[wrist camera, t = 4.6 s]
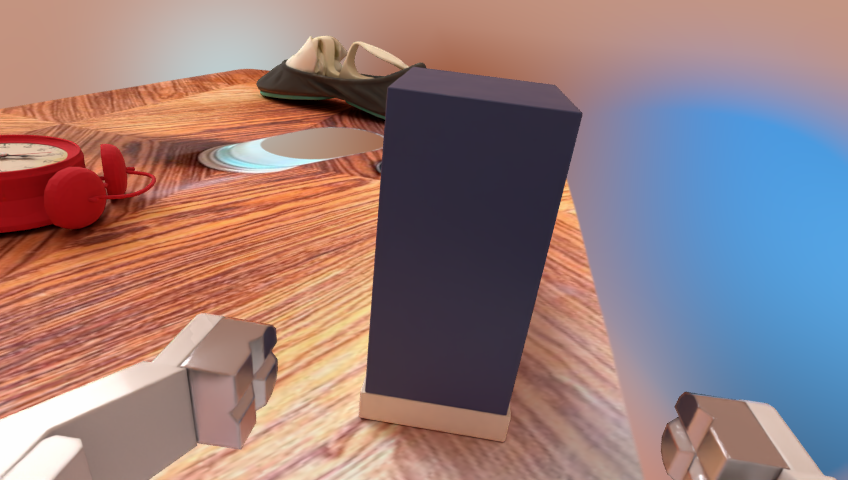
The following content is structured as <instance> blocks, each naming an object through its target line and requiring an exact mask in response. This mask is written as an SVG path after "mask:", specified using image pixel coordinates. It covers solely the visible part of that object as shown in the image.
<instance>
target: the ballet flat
mask: <svg viewBox="0 0 848 480" xmlns="http://www.w3.org/2000/svg"><path fill="white" fill-rule="evenodd" d="M359 45H360V46H362V47H363V48H364V49H365V50H367V51H368V52H370V53H371V54H373V55H375V56H376V57H378V58H380V59H382V60H384V61H386V62H389V63H391V64H393V65H395V66H396V67H398V68H400V69H402V70H401V71H399V72H395V73H393V74H391V75H387V76H372V75H365V74H359V73H358V71H357V69H356V67H355V62H354V59H355V54H356V51H357V49H358V46H359ZM345 56H346V59H345V61H344V64H343V66H342V64H341V63H340V61H341V60H342V59H343V58H344V57H345ZM412 67H419V68H426V66H425V64H423V63H417V64H415V65H412V66H410V67H409V66H407V65H406V64H404V63H403V62H402V61H401V60H400V59H398V58H397V57H395V56H393V55H392V54H389V53H388V52H386V51H384V50H382V49H380V48H377V47H375V46H372V45H369V44H366V43H364V42H354V43H353V44H352V45H351V47H350V49H349V51H348V52H347V50H346V49H345V48H344V47H343V46H342V45H341V43H340V42H339V41H338V40H337V39H336V38H334V37H331V36H320V37H316V38H312V37H311V36H310V37H309V38H308V40H307V42H306V44H304V45H303V47H302V48H301V49H300V50H299V51H298V53H297V54H296V55H293V56H292V57H291V58H290V59H287V60H284V61H283V62H282V64H280V65H278V66H276V67H275V68H273V69H272V70H271V71H269V72H268V73H267V74H266V75H264V76H263V77H261V78H260V79H259V80H258V81H257V86H258V88H259V90H260V93H261V95H264V96H268V97H274V98H282V99H296V100H323V99H331V98H339V99H342V100H345V101H346V103H348V104H350V105H352V106H354V107H356V108H358V109H360V110H363V111H365V112H367V113H370V114H372V115H374V116H376V117H379V118H382V119H384V120H385V114H386V101H387V88H388V87H389V86H390V85H391V84H393V83H394V82H395V81H396V80H398V79H399V78H400V77H401V76H403V75H404V74H405V73H406V72H407V71H409V70H410V69H411V68H412Z"/></svg>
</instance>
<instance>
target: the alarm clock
mask: <svg viewBox="0 0 848 480" xmlns="http://www.w3.org/2000/svg"><path fill="white" fill-rule="evenodd" d="M101 159H102V166H103V172H104V177H99V176H98V175H97V174H96V173H94V172H93V171H91V170H89V169H86V167H85V163H84V155H83V152H82V151H81V149H80V147H79V146H78V145H77V144H76V143H74V142H72V141H69V140H65V139H61V138H56V137H49V136H39V135H0V233H4V232H12V231H20V230H27V229H33V228H38V227H42V226H46V225H51V224H54V225H56V226H59V227H62V228H65V229H80V228H83V227H86V226H88V225H91V224H92V223H94V222H95V221H96V220H97V219H98V218H99V217H100V216H101V214H102V213H103V211H104V209H105V205H106V199H122V198H129V197H134V196H137V195H140V194H142V193H144V192H146V191H148V190H149V189H150V188H151V187H152V186H153V185H154V184H155V182H156V178H155V176H154V175H152V174H149V173H145V172H138V171H135V168H134V167H126V166H125V161H124V159H123V156H122V154H121V152H120V150H119V149H118V148H117V147H116V146H113V145H110V144H101ZM127 173H128V174H136V175H144V176H148V177H150V178H152V182H151V183H150V184H149V185H148V186H147V187H146V188H144V189H142V190H140V191H137V192H134V193H130V194H124V193H125V191H126V188H127ZM103 180H105V183H104V184H103V182H102V181H103ZM105 188H106V189H107V193H108V195H106V189H105Z"/></svg>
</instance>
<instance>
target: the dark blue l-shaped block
mask: <svg viewBox="0 0 848 480" xmlns="http://www.w3.org/2000/svg"><path fill="white" fill-rule="evenodd" d="M581 118H582V112H581V111H580V110H579V109H578V108H577V107H576V106H575V105H574V104H573V103H572V102H571V101H570V100H569V99H568V98H567V97H566V96H565V95H564V94H563V93H562V91H560V89H559V88H558V87H557V86H555V85H550V84H543V83H535V82H527V81H520V80H512V79H504V78H496V77H489V76H480V75H473V74H466V73H458V72H450V71H441V70H435V69H427V68H419V67H412V68H411V69H410V70H409V71H407V72H406V73H405V74H404V75H403V76H401V77H400V78H399V79H398V80H396V81H395V82H394V83H393V84H391V85H390V86H389V87H388V88H387V101H386V114H385V128H384V141H383V155H382V168H381V182H380V195H379V209H378V222H377V236H376V249H375V263H374V276H373V290H372V303H371V317H370V330H369V344H368V357H367V371H366V376H365V379H364V382H363V385H362V388H361V391H360V403H359V417H360V418H365V419H371V420H377V421H383V422H389V423H395V424H400V425H406V426H412V427H418V428H424V429H430V430H436V431H442V432H448V433H454V434H460V435H466V436H472V437H478V438H483V439H489V440H495V441H501V442H504V441H505V438H506V435H507V431H508V427H509V423H510V419H511V410H510V400H511V396H512V392H513V388H514V384H515V380H516V376H517V372H518V368H519V364H520V360H521V356H522V352H523V348H524V344H525V340H526V336H527V332H528V328H529V324H530V320H531V316H532V312H533V308H534V304H535V300H536V297H537V293H538V289H539V285H540V281H541V277H542V273H543V269H544V265H545V261H546V257H547V253H548V249H549V245H550V241H551V237H552V233H553V229H554V225H555V221H556V217H557V213H558V209H559V205H560V201H561V197H562V193H563V189H564V185H565V182H566V178H567V174H568V170H569V166H570V162H571V158H572V154H573V150H574V146H575V142H576V138H577V134H578V130H579V126H580V122H581Z"/></svg>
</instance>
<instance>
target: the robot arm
mask: <svg viewBox="0 0 848 480" xmlns="http://www.w3.org/2000/svg"><path fill="white" fill-rule="evenodd" d="M276 343H277V337H276V328H275V327H274V326H273V325H270V324H264V323H259V322H253V321H248V320H243V319H237V318H232V317H224V316H219V315H213V314H208V313H201V314H198V315H196V316H195V317H194V318H193V319H192V320H191V321H190V322H189V323H188V324H187V326H186V327H185V328H184V329H183V330H182V331H181V332H180V333H179V334H178V335H177V336H176V337H175V338H174V339H173V340H172V341H171V342H170V343H169V344H168V345H167V346H166V347H165V348H164V349H163V350H162V351H161V352H160V354H159V355H158V356H157V357H156V358H155V359H154V360H153V361H152V362H145V361H143V362H140V363H138V364H135V365H133V366H131V367H128V368H126V369H123V370H121V371H118V372H116V373H113V374H111V375H108V376H106V377H103V378H101V379H99V380H96V381H94V382H91V383H89V384H86V385H84V386H81V387H79V388H76V389H74V390H72V391H69V392H67V393H64V394H62V395H59V396H57V397H54V398H52V399H49V400H47V401H44V402H42V403H40V404H37V405H35V406H32V407H30V408H27V409H25V410H22V411H20V412H17V413H15V414H13V415H10V416H8V417H5V418H3V419H0V480H149V479H150V478H152V477H153V476H155V475H156V474H157V473H159V472H160V471H162V470H163V469H165V468H166V467H167V466H169V465H170V464H172V463H173V462H174V461H176V460H177V459H179V458H180V457H182V456H183V455H184V454H186V453H187V452H189V451H190V450H191V449H193V448H194V447H196V446H197V443H200V444H207V445H214V446H221V447H227V448H234V449H241V448H242V447H243V445H244V443H245V441H246V440H247V438H248V436H249V434H250V433H251V431H252V429H253V427H254V425H255V424H256V411H257V410H258V409H260V408H262V407H264V406H265V405H266V404H267V402H268V400H269V398H270V397H271V395H272V392H273V389H274V386H275V382H276V378H277V370H278V360H277V358H276V357H275V355H274V354H273V353H272V349H273V347H274V346H275V344H276ZM675 409H676V411H677V413H678V416H679V417H677V418H676V419H674V420H672V421H671V422H669V423H667V425H666V427H665V430H664V433H663V435H662V443H661V454H662V460H663V464H664V466H665V469H666V472H667V474H668V475H669V476H670V477H671V478H672V479H673V480H836V479H835V478H834V477H828V476H824V475H823V473H822V472H821V471H820V469H819V468H818V467H817V465H816V464H815V462H814V461H813V460H812V458H811V457H810V456H809V454H808V453H807V452H806V450H805V449H804V448H803V446H802V445H801V444H800V442H799V441H798V439H797V438H796V437H795V435H794V434H793V432H792V431H791V430H790V428H789V427H788V426H787V425H786V423H785V422H784V420H783V419H782V417H781V416H780V415H779V413H778V412H777V411H776V409H775V408H773V407H772V406H770V405H769V404H767V403H761V402H754V401H747V400H735V399H728V398H722V397H715V396H709V395H702V394H696V393H689V392H684V393H683V394H682V395H681V396H680V397H679V398H678V401H677V403H676V405H675Z"/></svg>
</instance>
